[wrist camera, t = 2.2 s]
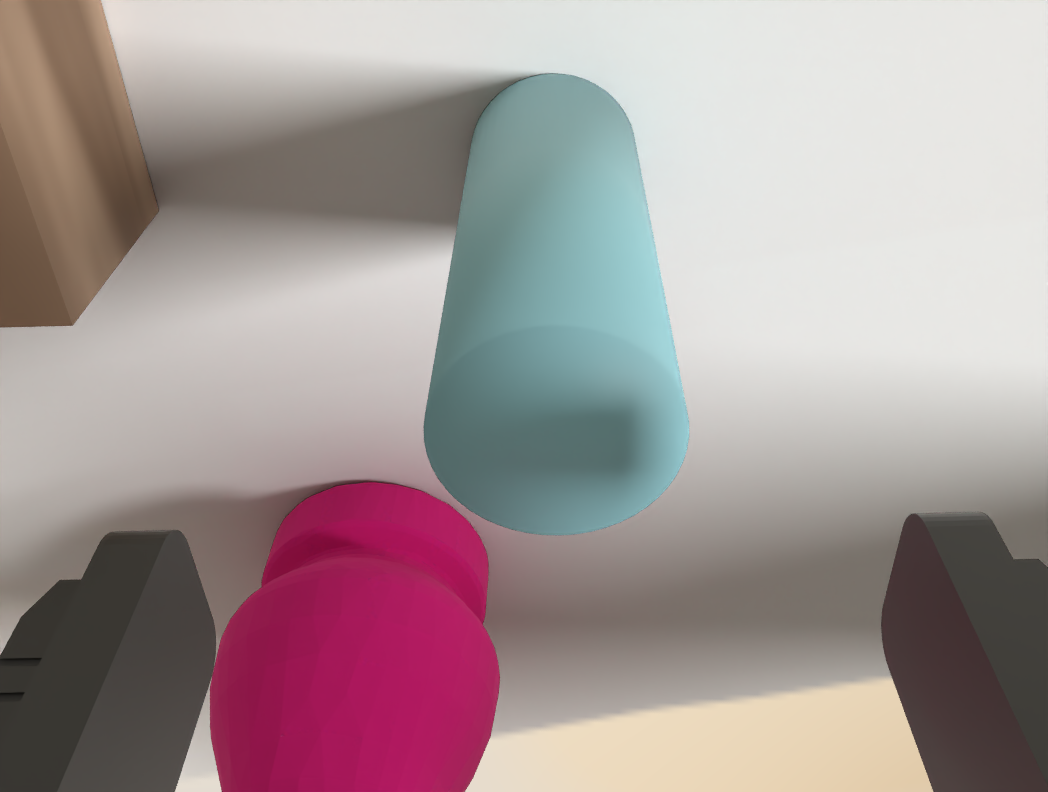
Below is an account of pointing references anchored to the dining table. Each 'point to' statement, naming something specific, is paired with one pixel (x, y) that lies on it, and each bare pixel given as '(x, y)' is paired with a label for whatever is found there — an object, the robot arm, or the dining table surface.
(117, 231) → the socket block
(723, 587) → the dining table surface
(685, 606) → the dining table surface
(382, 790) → the pepper mill
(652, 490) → the peg
